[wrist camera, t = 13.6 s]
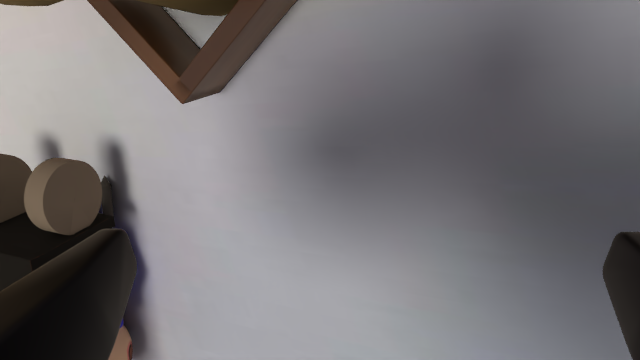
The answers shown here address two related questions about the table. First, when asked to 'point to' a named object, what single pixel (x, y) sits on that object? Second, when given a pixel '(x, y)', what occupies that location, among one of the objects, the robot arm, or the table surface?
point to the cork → (205, 3)
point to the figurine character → (51, 218)
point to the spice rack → (181, 53)
